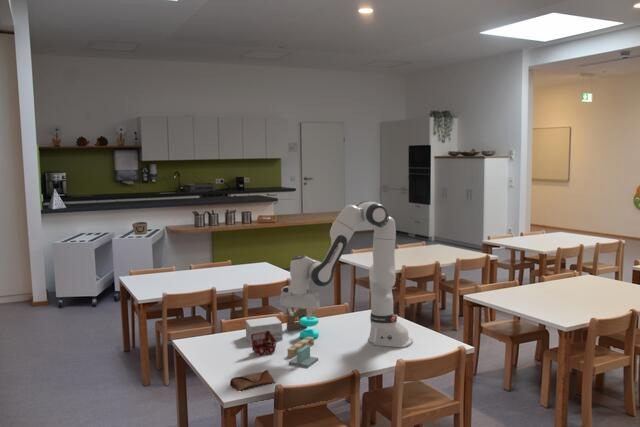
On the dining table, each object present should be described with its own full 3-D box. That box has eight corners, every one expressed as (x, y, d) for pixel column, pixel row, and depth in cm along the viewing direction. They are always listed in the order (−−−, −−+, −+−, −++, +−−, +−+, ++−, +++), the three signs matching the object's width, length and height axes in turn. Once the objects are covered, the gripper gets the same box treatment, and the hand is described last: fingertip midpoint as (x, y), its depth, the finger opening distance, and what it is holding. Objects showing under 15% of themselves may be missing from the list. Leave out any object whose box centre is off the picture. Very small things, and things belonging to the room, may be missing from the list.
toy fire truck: (278, 352, 279) (278, 331, 278) (254, 357, 273) (254, 335, 272) (272, 348, 285) (272, 327, 284) (249, 352, 279) (248, 332, 278)
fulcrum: (318, 360, 267) (318, 346, 266) (308, 367, 258) (307, 353, 257) (299, 357, 271) (299, 343, 271) (288, 364, 263) (288, 350, 262)
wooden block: (307, 328, 317) (306, 296, 315) (288, 330, 313) (287, 298, 311) (304, 326, 320) (304, 294, 318) (286, 329, 316) (285, 297, 314)
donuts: (321, 316, 303) (314, 321, 294) (321, 335, 304) (314, 340, 295) (304, 315, 307) (296, 320, 298) (304, 333, 308) (296, 338, 299)
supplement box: (276, 332, 310) (276, 315, 309) (282, 340, 298) (282, 322, 297) (245, 336, 305) (245, 319, 304) (250, 344, 292) (250, 326, 292)
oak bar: (307, 344, 291) (307, 336, 290) (313, 345, 289) (313, 337, 289) (287, 356, 273) (287, 348, 273) (294, 358, 272) (293, 349, 271)
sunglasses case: (238, 392, 232) (234, 376, 235) (232, 395, 238) (228, 379, 240) (277, 382, 242) (273, 366, 244) (271, 385, 247) (267, 370, 250)
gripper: (321, 289, 276) (322, 317, 278) (284, 285, 285) (285, 312, 287) (315, 292, 271) (316, 321, 272) (278, 288, 280) (278, 316, 281)
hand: (300, 316), depth 280 cm, fingers open, 8 cm apart
